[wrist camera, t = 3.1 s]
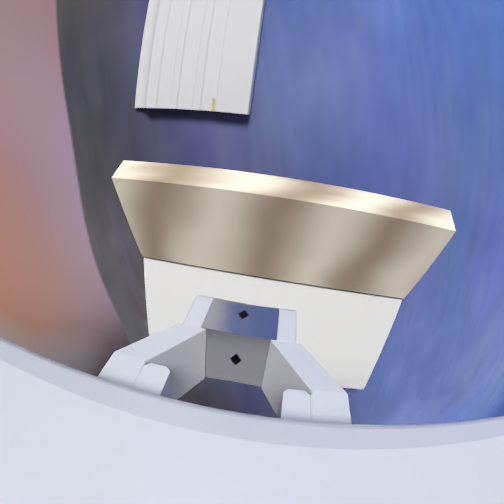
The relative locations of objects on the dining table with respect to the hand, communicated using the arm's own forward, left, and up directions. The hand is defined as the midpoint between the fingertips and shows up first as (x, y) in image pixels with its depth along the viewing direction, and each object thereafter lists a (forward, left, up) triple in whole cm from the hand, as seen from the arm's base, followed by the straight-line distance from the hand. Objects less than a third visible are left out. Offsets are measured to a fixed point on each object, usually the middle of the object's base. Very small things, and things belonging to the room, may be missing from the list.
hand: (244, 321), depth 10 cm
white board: (-1, +10, -14) cm, 18 cm away
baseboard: (+7, -21, -15) cm, 27 cm away
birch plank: (-1, +1, -12) cm, 12 cm away
